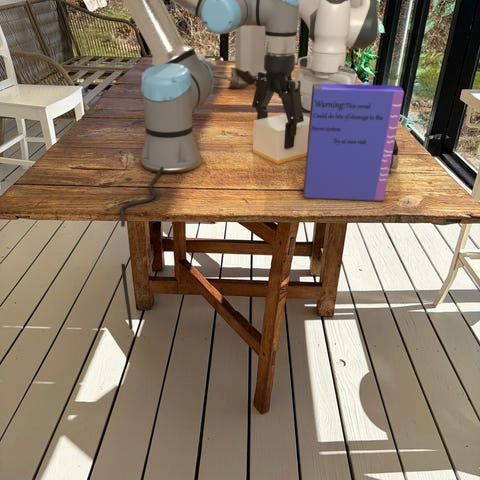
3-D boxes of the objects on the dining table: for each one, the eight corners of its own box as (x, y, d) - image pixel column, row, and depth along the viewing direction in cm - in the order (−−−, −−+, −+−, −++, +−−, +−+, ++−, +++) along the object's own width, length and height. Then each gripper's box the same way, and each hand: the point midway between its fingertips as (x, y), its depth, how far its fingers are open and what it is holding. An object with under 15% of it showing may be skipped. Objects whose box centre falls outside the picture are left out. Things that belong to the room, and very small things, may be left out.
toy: (171, 74, 211) (170, 58, 208) (148, 64, 229) (146, 49, 225) (218, 68, 223) (218, 53, 219) (192, 59, 240) (192, 44, 237)
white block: (273, 76, 210) (276, 6, 196) (239, 77, 209) (240, 6, 194) (266, 67, 226) (268, 2, 212) (235, 67, 225) (235, 1, 210)
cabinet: (292, 142, 138) (294, 111, 134) (317, 152, 131) (320, 121, 127) (252, 152, 131) (253, 120, 126) (277, 163, 124) (278, 130, 119)
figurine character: (396, 183, 117) (389, 155, 129) (402, 156, 112) (395, 129, 124) (368, 182, 118) (364, 154, 129) (373, 154, 113) (368, 127, 125)
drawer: (316, 133, 142) (318, 110, 138) (338, 142, 136) (341, 118, 132) (266, 146, 132) (267, 121, 129) (288, 156, 126) (290, 130, 122)
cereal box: (379, 191, 109) (398, 84, 97) (383, 201, 105) (404, 90, 93) (303, 188, 110) (312, 82, 98) (304, 197, 106) (314, 88, 94)
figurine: (210, 87, 179) (288, 95, 182) (212, 65, 176) (291, 73, 180) (208, 84, 201) (278, 91, 205) (210, 64, 198) (280, 71, 202)
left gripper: (324, 59, 110) (315, 151, 121) (262, 45, 125) (259, 127, 137) (300, 63, 106) (293, 157, 117) (239, 48, 121) (238, 132, 133)
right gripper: (366, 68, 120) (358, 122, 127) (310, 56, 135) (305, 106, 141) (349, 71, 117) (341, 126, 124) (293, 58, 131) (289, 108, 138)
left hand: (275, 141), depth 127 cm, fingers closed on cabinet, 10 cm apart
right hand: (322, 115), depth 133 cm, fingers closed
